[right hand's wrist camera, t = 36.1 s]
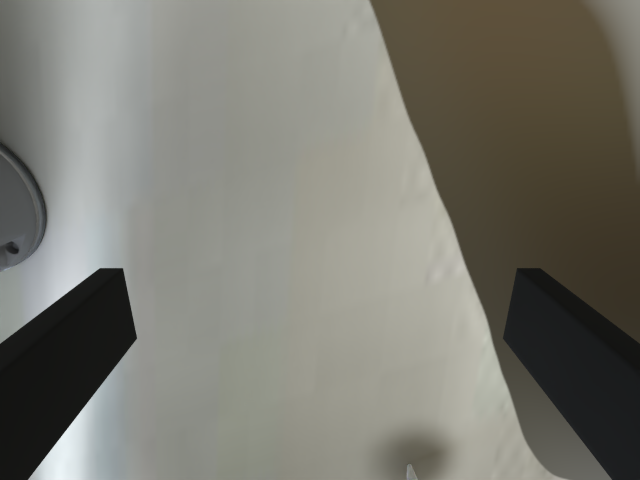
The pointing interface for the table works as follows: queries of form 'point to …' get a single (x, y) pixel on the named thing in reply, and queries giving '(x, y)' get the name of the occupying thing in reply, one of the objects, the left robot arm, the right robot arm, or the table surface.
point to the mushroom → (411, 473)
